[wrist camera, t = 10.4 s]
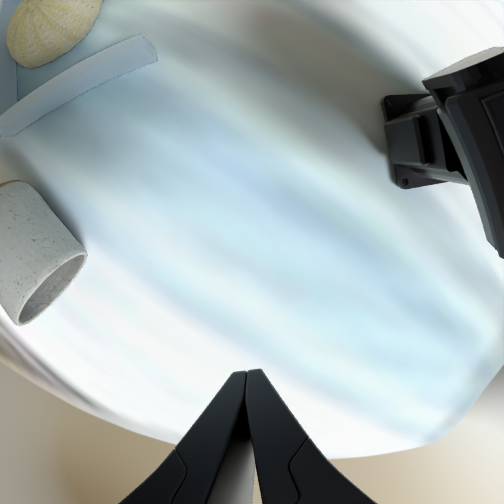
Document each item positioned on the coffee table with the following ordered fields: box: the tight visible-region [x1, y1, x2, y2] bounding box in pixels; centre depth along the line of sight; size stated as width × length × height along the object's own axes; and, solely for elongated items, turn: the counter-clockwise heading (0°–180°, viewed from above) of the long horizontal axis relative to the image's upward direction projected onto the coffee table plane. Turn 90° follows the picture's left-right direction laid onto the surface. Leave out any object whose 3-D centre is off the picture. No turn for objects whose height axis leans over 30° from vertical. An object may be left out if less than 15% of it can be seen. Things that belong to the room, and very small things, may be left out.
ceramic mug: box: [0, 180, 88, 326], centre depth 16 cm, size 11×8×8 cm
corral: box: [0, 0, 158, 136], centre depth 13 cm, size 14×16×3 cm
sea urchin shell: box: [6, 0, 103, 68], centre depth 12 cm, size 9×8×8 cm
